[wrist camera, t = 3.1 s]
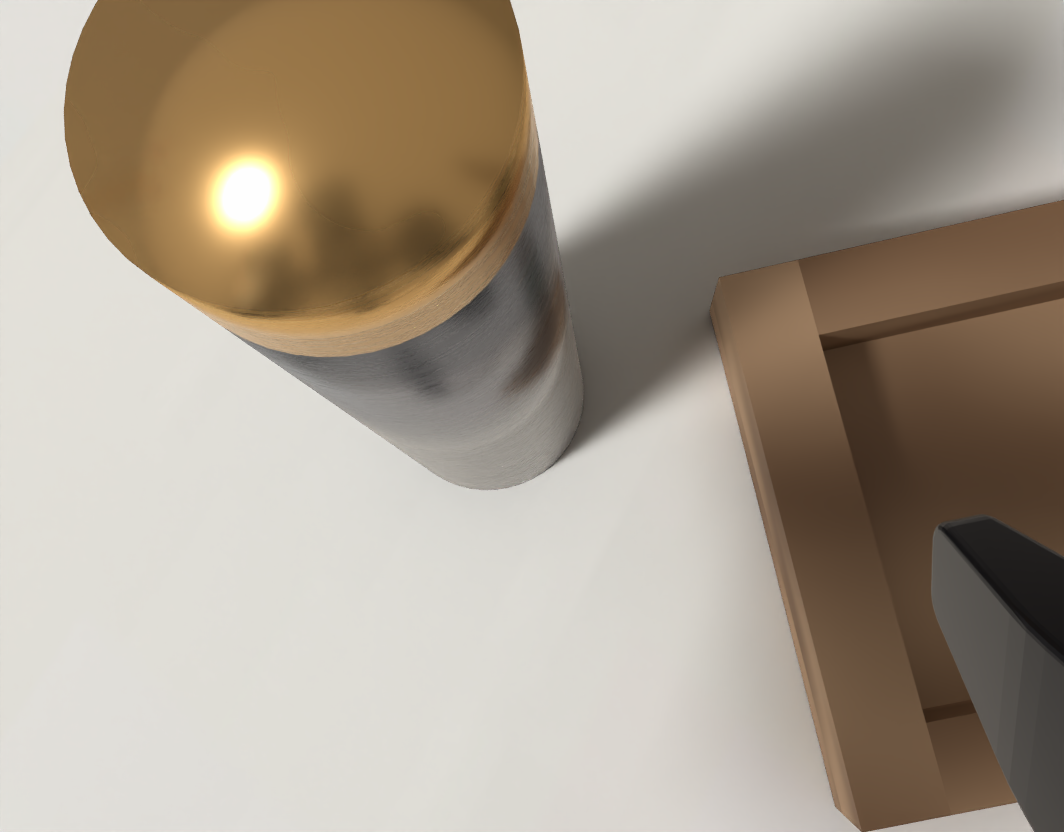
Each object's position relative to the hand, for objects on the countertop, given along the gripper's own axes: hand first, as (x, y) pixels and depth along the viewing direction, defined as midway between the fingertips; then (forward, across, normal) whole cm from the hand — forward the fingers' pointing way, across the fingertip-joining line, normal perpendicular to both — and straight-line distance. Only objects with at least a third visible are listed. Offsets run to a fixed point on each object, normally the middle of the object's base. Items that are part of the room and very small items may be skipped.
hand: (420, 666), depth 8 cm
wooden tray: (+8, -10, +8) cm, 15 cm away
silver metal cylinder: (+12, 0, +5) cm, 12 cm away
